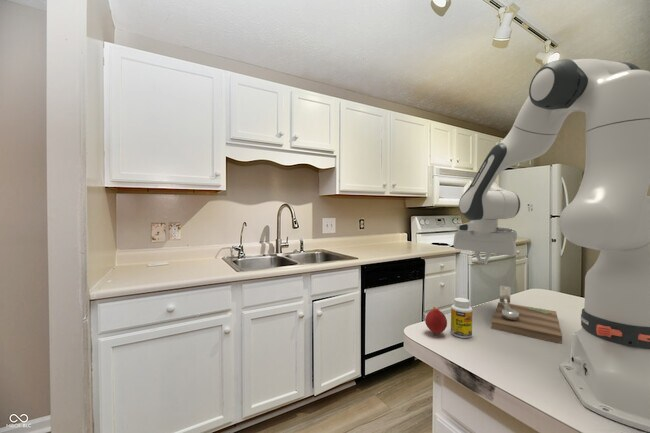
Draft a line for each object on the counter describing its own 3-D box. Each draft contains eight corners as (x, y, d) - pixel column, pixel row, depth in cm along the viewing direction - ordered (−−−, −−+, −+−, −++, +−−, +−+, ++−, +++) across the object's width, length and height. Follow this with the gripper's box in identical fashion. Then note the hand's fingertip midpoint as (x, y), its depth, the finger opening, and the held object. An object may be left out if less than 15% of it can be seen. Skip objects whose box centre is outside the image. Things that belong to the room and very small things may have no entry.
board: (561, 343, 76) (561, 335, 76) (491, 328, 86) (491, 321, 86) (555, 317, 95) (556, 310, 95) (498, 307, 105) (498, 301, 105)
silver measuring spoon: (520, 320, 85) (520, 300, 85) (502, 318, 87) (503, 298, 87) (511, 304, 100) (511, 286, 100) (497, 302, 102) (497, 285, 102)
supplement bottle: (453, 338, 80) (453, 302, 80) (448, 329, 85) (449, 296, 85) (474, 339, 79) (475, 303, 78) (468, 331, 84) (469, 297, 84)
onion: (443, 330, 85) (443, 303, 85) (449, 339, 79) (450, 310, 79) (423, 329, 85) (423, 303, 85) (428, 338, 80) (428, 310, 79)
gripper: (519, 228, 99) (517, 267, 100) (458, 224, 114) (457, 259, 114) (515, 229, 95) (513, 270, 95) (452, 225, 109) (451, 261, 110)
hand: (482, 264), depth 105 cm, fingers closed
